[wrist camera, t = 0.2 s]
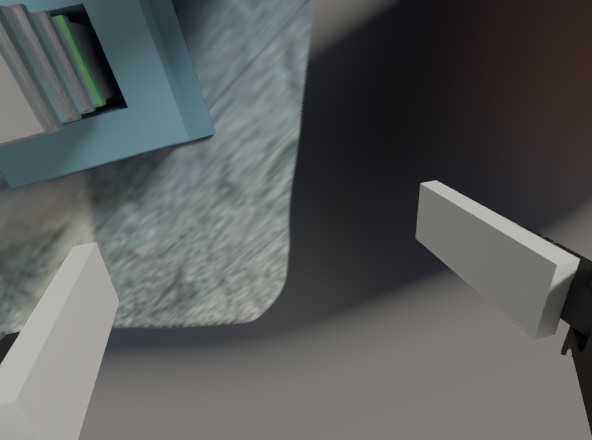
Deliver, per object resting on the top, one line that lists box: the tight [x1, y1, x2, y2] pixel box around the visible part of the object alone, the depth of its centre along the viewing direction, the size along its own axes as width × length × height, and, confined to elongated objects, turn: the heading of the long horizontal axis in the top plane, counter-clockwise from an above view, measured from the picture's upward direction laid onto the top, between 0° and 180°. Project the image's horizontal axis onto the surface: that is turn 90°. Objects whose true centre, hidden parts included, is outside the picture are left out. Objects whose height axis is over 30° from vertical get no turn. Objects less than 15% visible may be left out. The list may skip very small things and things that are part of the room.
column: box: [0, 3, 121, 146], centre depth 23 cm, size 5×5×22 cm
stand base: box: [0, 0, 215, 189], centre depth 25 cm, size 18×18×21 cm
